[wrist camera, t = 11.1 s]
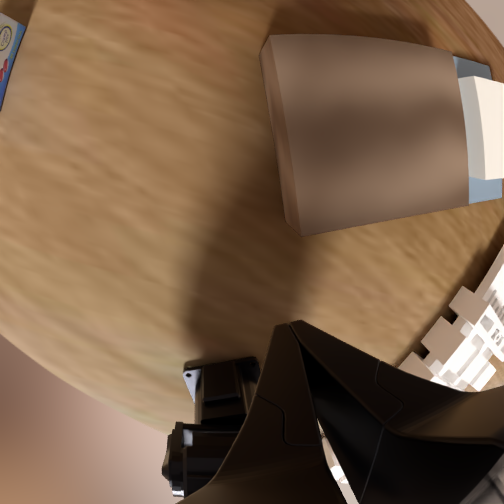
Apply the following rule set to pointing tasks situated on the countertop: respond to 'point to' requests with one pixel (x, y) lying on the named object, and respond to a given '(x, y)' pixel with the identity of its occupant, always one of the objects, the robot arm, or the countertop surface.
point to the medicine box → (8, 48)
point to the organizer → (458, 343)
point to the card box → (483, 126)
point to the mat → (477, 187)
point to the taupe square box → (363, 129)
